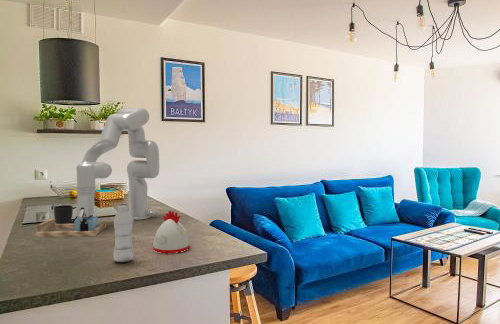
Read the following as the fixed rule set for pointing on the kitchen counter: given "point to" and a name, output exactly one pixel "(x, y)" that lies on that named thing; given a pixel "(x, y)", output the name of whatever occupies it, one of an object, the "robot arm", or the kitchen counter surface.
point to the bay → (50, 225)
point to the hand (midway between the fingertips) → (86, 230)
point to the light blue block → (91, 223)
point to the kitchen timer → (171, 235)
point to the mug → (64, 214)
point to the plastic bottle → (123, 234)
